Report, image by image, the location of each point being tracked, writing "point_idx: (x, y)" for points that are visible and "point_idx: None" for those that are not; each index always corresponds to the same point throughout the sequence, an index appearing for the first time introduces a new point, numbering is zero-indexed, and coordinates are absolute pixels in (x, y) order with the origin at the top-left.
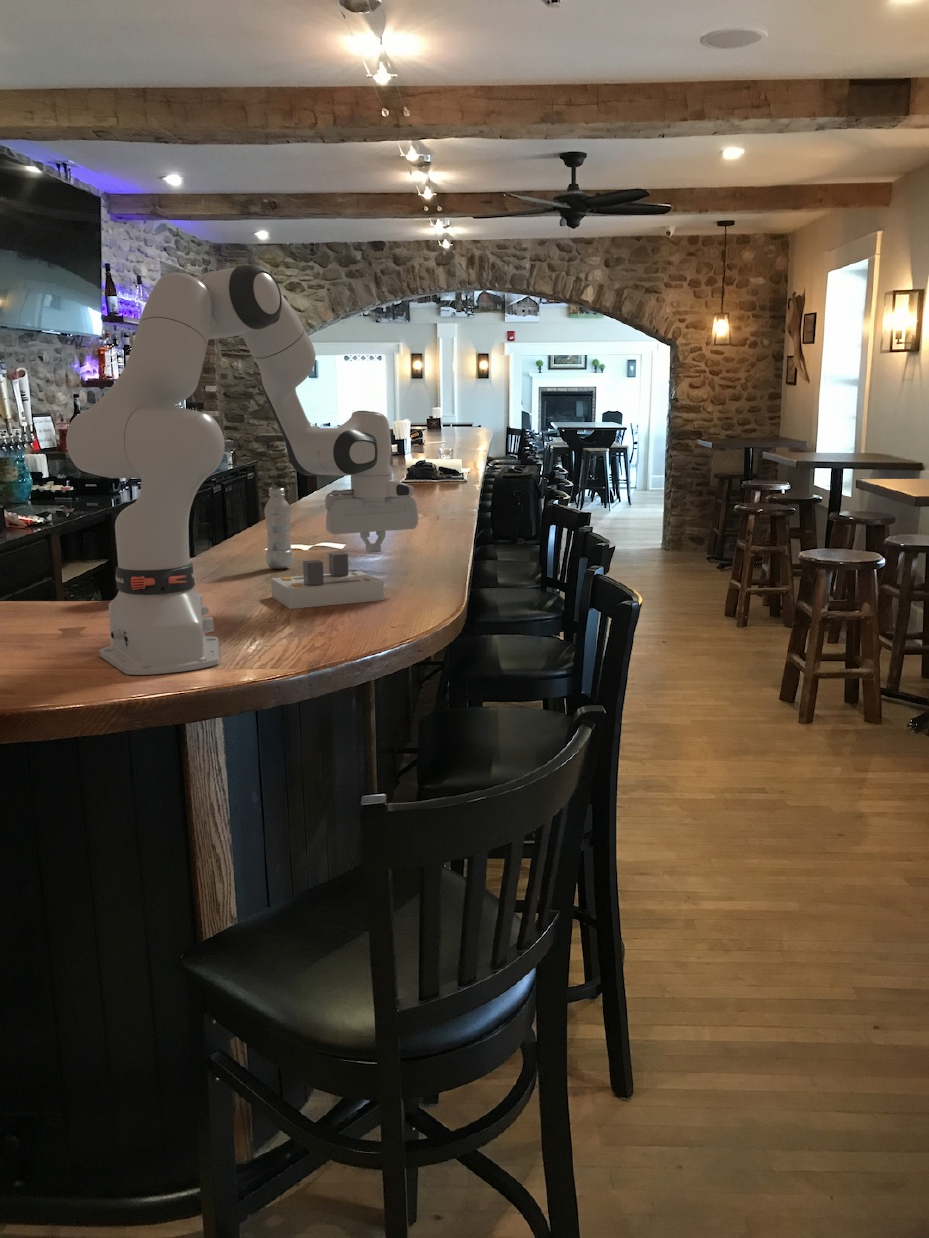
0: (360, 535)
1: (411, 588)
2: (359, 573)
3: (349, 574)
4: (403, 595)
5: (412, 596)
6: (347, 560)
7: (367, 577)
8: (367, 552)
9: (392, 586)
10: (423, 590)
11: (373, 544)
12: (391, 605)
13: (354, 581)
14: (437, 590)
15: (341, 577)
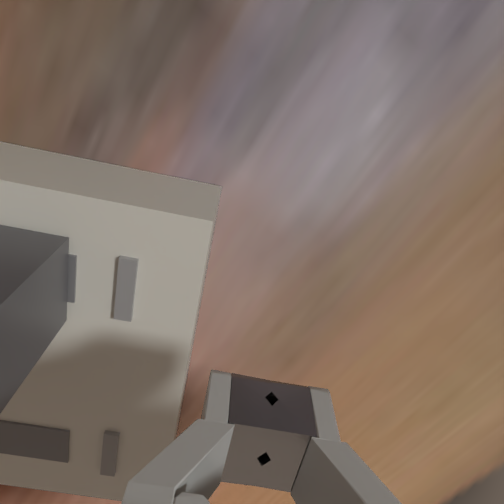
0: (123, 498)
1: (426, 315)
2: (164, 288)
3: (94, 281)
4: None
5: None
6: (18, 381)
7: (143, 407)
8: (205, 396)
9: (398, 221)
10: (429, 377)
11: (249, 479)
12: None
13: (34, 457)
14: (469, 406)
15: None
